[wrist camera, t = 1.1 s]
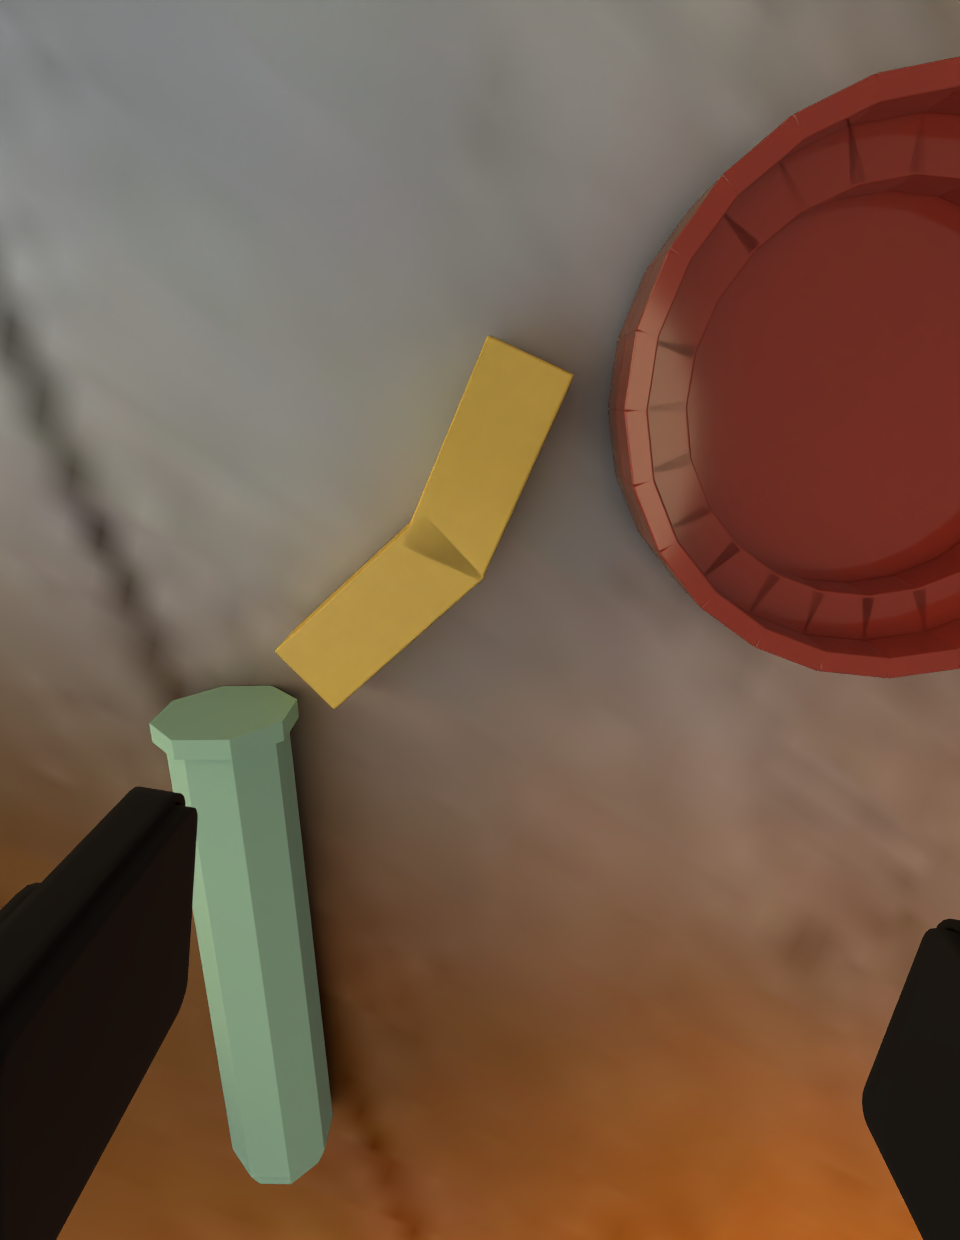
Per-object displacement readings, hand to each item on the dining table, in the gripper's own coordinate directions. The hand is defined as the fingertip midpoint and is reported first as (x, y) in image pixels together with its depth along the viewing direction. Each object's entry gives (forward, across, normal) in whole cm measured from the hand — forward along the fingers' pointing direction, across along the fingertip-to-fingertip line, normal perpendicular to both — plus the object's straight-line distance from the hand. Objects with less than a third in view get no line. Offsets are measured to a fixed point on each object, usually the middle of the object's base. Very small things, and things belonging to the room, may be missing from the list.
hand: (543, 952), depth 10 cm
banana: (+24, +4, -1) cm, 24 cm away
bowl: (+24, -12, -9) cm, 28 cm away
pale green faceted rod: (+24, +9, +20) cm, 33 cm away
